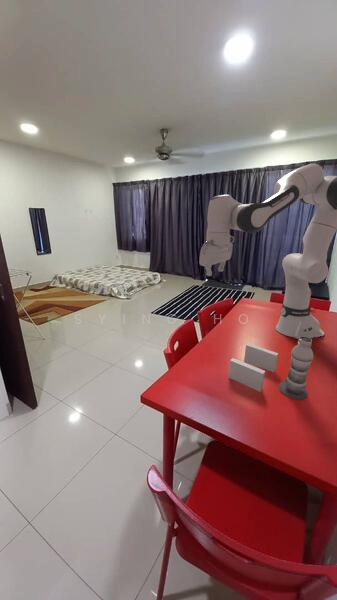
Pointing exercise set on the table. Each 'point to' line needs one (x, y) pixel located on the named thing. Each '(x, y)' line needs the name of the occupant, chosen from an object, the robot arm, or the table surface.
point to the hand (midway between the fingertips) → (215, 273)
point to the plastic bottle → (299, 366)
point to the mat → (292, 395)
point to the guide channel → (250, 373)
